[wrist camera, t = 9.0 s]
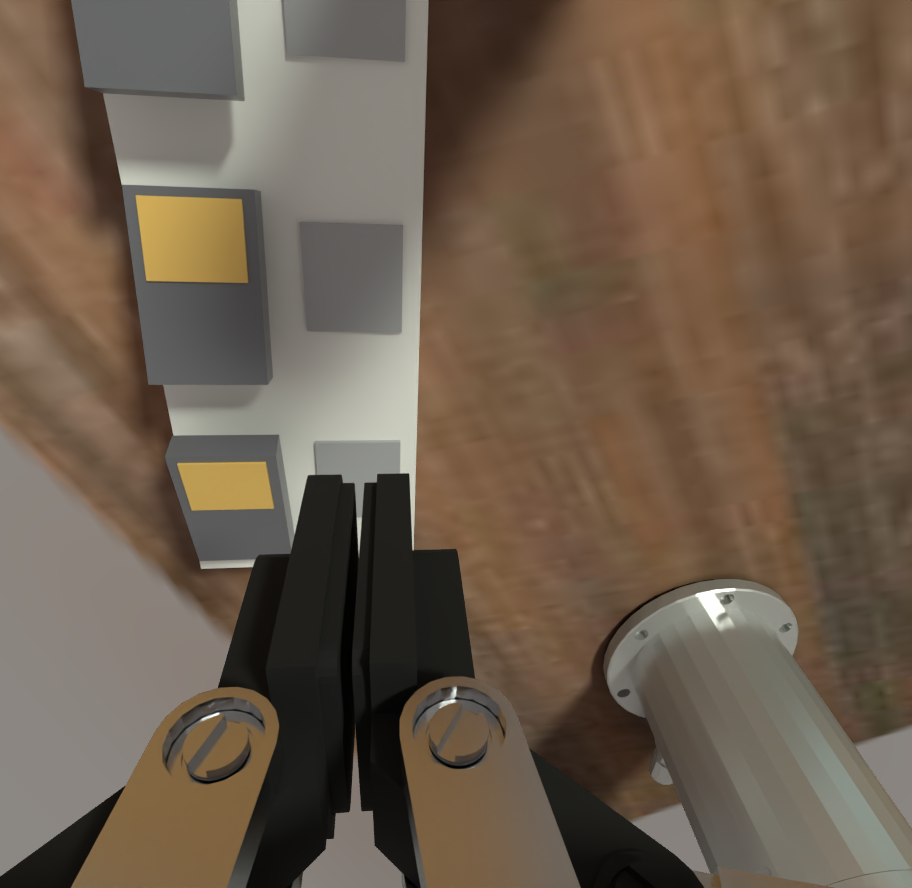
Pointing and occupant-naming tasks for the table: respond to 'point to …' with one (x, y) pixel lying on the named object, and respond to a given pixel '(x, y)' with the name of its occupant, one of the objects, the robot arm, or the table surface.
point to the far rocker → (232, 494)
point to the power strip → (313, 228)
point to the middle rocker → (200, 284)
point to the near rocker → (161, 47)
